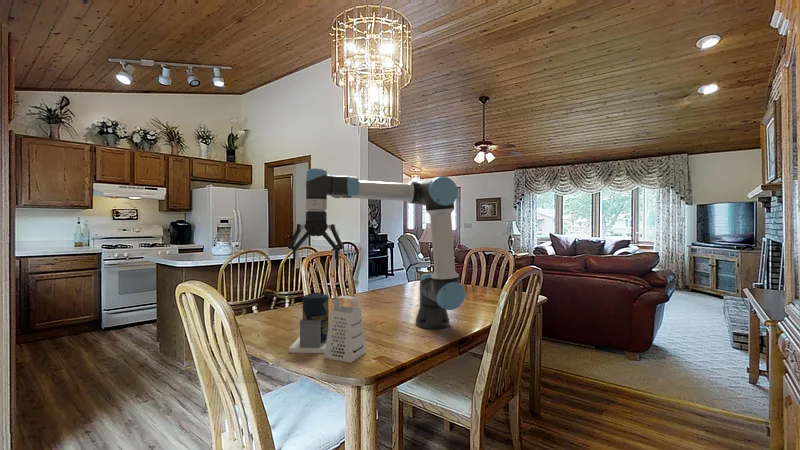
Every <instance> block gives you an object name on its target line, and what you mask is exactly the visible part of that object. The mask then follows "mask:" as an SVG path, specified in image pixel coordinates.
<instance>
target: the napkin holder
mask: <svg viewBox="0 0 800 450" xmlns="http://www.w3.org/2000/svg"><path fill="white" fill-rule="evenodd" d="M329 321H330V316H329V317H328V323H329ZM326 341H327V340H325V341H323V342H321V320H302V319H300V320H299V336H298V337H297V338H296V340H295V341H293V343H292V345H290V346H289V348H288V352H289V353H290V354H292V353H293V354H294V353H295V354H297V353H298V354H325V347H326Z"/></svg>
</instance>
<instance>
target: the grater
mask: <svg viewBox="0 0 800 450" xmlns="http://www.w3.org/2000/svg"><path fill="white" fill-rule="evenodd" d="M341 299H346V300H347V299H349V300H350V301H351V302H352V307H351V306H344V305H343V306H341V304H340V301H341ZM361 309H362V308H360V307H359V300H358V298H357V296H350V295H339V296H337V297H335V298H334V300H333V309H332V310H331V311H330V314H329V322H328V334H327V341H326V347H325V353H323V357H324V359H328V358H329V360H334V361H335V360H336V361H339V360H340V362H345V361H346V363H350V362H351V363H352V361H353V362H354V361H356V360H357V359H359V358H360V357H362V356H363V355H364V354H366V353H367V349H366V340H365V333H364V324H363V317H362V310H361ZM340 352H341V353H340ZM339 355H340V356H339ZM361 355H362V356H361ZM342 356H343V357H342ZM358 357H359V358H358ZM355 359H356V360H355Z"/></svg>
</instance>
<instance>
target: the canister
mask: <svg viewBox="0 0 800 450" xmlns="http://www.w3.org/2000/svg"><path fill="white" fill-rule="evenodd" d="M329 304H330V302H329V295H327V294H325V293H321V292H317V291H316V292H311V293H308V294H305V295H303V296H302V319H301V320H321V342H323V341H325V340H327V334H328V328H329V322H328V317H329V318H330V314H329V313H330V310H329V307H330V306H329Z"/></svg>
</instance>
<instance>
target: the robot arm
mask: <svg viewBox="0 0 800 450" xmlns="http://www.w3.org/2000/svg"><path fill="white" fill-rule="evenodd" d="M458 195H459V190H458V186H457V184H456V182H454V180H453V179H451V178H450V177H447V176H435V177H433V178H428V179H425V180H420V181H411V180H410V181H408V182H407V183H404V182H390V181H389V182H387V181H373V180H371V181H370V180H359V177H357V176H355V175H354V176H352V175H332V174H328V171H327V169H324V168H318V167H317V168H308V169H307V171H306V178H305V197H306V198H305V210H307V211H306V212H305V224H302V223H297V224H296V230H295V231H294V233H293V236H292V238H291V239H290V241H289V243H288V246H287V249H290V250H292V259H293V260H295V265H294V266H295V267H294V268H295V269H300V265H301V263H300V262H301V261H300V260H301V259H300V252H301V251H300V249H299V248H300V247H301V246H302V245H303V244H304V242H305V241H306V240H307V239H308V238H309V237H310V236H311V237H315V236H316V237H321V236H322V237H323V238H324V239H325V240H326V241H327V242H328V244H329V245H330V246H331V247H332V248H333V250H332V267H331V268H332V270H336V268H337V261H338V260H339V258H340V257H339V256H340V254H339V253H340V250H343V249H344V248H345V247H344V245H343V242H342V240H341V238H340V236H339V234H338V231H337V230H336V224H335V223H332V224H328V221H327V220H328V219H327V217H328V216H327V215H328V214H327V209H328V207H327V206H328V203H327V201H328V199H327V198H328V197H327V196H331V197H332V198H334V199H340V198H341V199H362V200H363V199H364V200H365V199H366V200H382V201H383V200H385V201H401V202H407V203H408V204H414V205H420V206H425V211H426V213H428V214H429V216H430V230H431V243H432V257H433V269H434V271H433V273H422V274H420V276H419V277H420V278H419V308H418V311H417V315H416V317H415V325H416V326H417V327H420V328H422V329H428V330H441V329H446V328H448V327H450V317H449V315H448V311H454V310H457V309H458V308H460V307H461V305H462V304H463V303H464V302H465V298H466V291H465V288H464V287H463V285H462V284H461V282H460V274H459V273H458V272H456V266H455V265H456V264H455V251H454V239H453V237H454V236H453V223H452V213H453V212H454V210H455V202H456V200H457V198H458ZM303 229H305V230H306V232H305V233H304V234H303V236H302V237H300V239H299V240H298V238H299V236H300V234H301V232H302V231H303ZM328 229H329V230H330V231H331V234H332V235H333V237H334V240H335V241H336V242H334V240H333V239H332V238H331V237H330V236H329V234H328V233H327V232H326V231H327V230H328ZM297 240H298V242H297ZM296 242H297V243H296ZM336 243H337V244H336Z"/></svg>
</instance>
